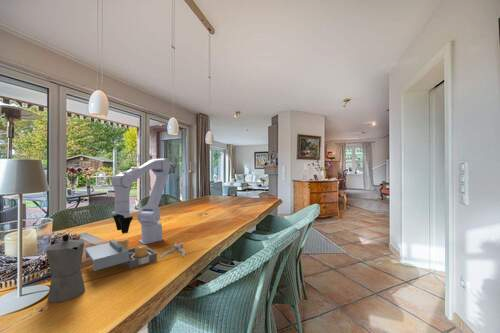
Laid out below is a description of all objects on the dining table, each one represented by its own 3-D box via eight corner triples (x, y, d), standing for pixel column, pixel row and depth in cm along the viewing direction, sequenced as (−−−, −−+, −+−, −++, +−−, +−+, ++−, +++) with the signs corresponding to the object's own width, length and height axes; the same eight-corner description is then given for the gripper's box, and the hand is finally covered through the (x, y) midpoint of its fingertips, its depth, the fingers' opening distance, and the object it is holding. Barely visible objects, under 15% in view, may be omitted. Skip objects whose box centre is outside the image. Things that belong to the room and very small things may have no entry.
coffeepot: (96, 291, 68) (94, 233, 68) (58, 309, 60) (56, 242, 60) (71, 280, 76) (69, 227, 76) (34, 294, 67) (32, 235, 67)
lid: (117, 250, 94) (116, 237, 94) (128, 261, 82) (128, 246, 82) (85, 258, 86) (85, 244, 86) (93, 271, 75) (93, 255, 75)
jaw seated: (145, 257, 92) (144, 244, 92) (149, 260, 89) (148, 246, 89) (133, 260, 89) (133, 247, 89) (137, 264, 86) (137, 250, 86)
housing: (144, 251, 101) (143, 244, 101) (157, 260, 90) (157, 253, 90) (119, 258, 94) (119, 250, 94) (130, 269, 83) (130, 261, 83)
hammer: (159, 255, 92) (168, 243, 107) (159, 259, 92) (168, 246, 107) (184, 253, 94) (189, 241, 108) (184, 257, 94) (189, 245, 108)
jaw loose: (127, 250, 103) (126, 238, 103) (130, 252, 100) (129, 240, 100) (116, 252, 100) (116, 240, 100) (119, 255, 97) (118, 242, 97)
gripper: (107, 200, 102) (108, 230, 102) (116, 203, 92) (116, 236, 92) (124, 199, 107) (125, 227, 107) (134, 201, 97) (135, 233, 97)
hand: (122, 231), depth 100 cm, fingers open, 7 cm apart
